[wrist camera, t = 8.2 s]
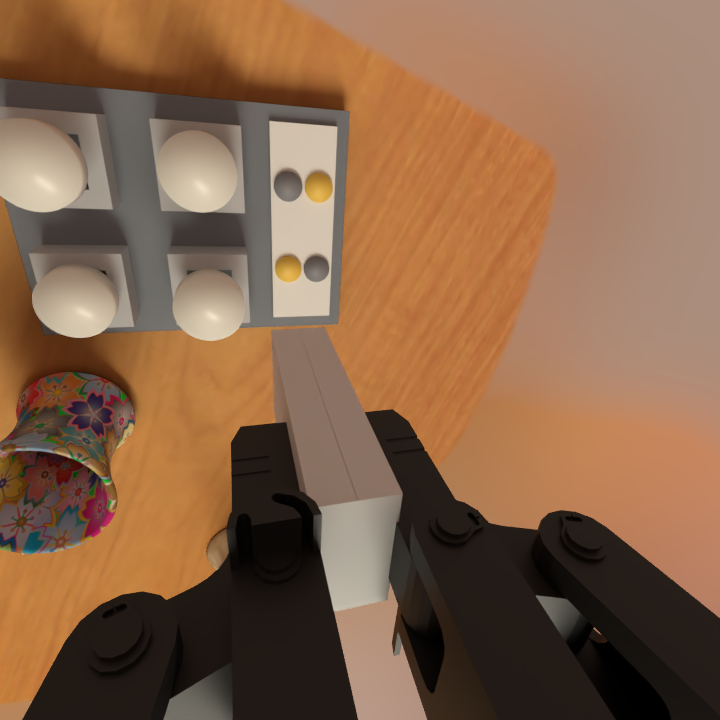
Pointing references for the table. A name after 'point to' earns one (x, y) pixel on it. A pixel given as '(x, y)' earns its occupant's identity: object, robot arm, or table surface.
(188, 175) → the button
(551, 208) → the table surface
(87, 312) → the button
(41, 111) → the board
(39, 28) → the table surface
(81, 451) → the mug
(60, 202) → the button
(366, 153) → the table surface
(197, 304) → the button
